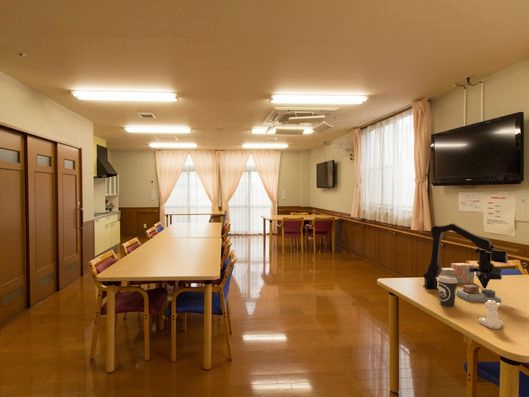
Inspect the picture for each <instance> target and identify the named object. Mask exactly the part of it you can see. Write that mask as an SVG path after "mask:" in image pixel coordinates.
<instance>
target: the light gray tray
mask: <svg viewBox="0 0 529 397" xmlns="http://www.w3.org/2000/svg"><path fill="white" fill-rule="evenodd" d="M486 289H487V291H488V292H490V290H491V289H489V288H486ZM455 296H457V297H459V298H461V299H463V300H465V301H466V302H487V301H488V300H494V301H496V302H502V298H500V297H497V296H496V295H495V297H489V296H486V295H485V294H483V293H482V291H481V292H480V291H479V294H467V293H465V292H463V289H456V294H455Z"/></svg>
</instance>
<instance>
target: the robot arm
mask: <svg viewBox="0 0 529 397" xmlns="http://www.w3.org/2000/svg"><path fill="white" fill-rule="evenodd" d="M430 231H431V232H430V233H431V237H432V248H431V258H430V260H431V261H430V263H429V265H428V268H427V269H426V272H425V273H424V274H423V275H422V276H423V278H424V279H423V280H424V284H423V285H422V286H423V287H424V288H426V289H428V290H431V289H432V290H439V287H438V280H437V279H438V277H439V274H440V273H441V272H442V270H441V269H442V268H443V265H441V264H440V255H441V254H440V253H441V247H442V246H441V245H442V240H443V238H444V234H445V232H450V231H451V232H453V233H455V234H458V235H459V236H461V237H463V238H465V239H467V240H469V241H471V242H472V243H473V244H474V245H475V246H477V248H476V250H474V252H475V253H478V261H476V264H477V265H478V266H474V267H470V268H469V272H472V273H473V272H474V273H475V272H476V274H475V276H476V277H477V279H478V281H479V282H480V285H481V287H482V289H487V287H488V285H489V282H490V281H491V280H496V281H498V280H502V279H503V278H502V277H503V276H502V275H501V274H502V270H503V269H502V268H499V267H496V266H495V264H494V263H499V264H500V263H501V264H508V261H509V260H508V259H509V256H508V251H507V250H499V249H498V250H497V249H496V247H494V245H493V242H492V241H491V239H489V238H487V237H484V236H480V235H477V234H474V233H473V232H471V231H469V230H466V228H463V227H461V226H459V225H457V224H456V223H450V224H446V225H441V224H440V225H434V226H433V227H431V230H430ZM492 261H493V262H494V263H492Z"/></svg>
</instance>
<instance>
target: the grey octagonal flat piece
mask: <svg viewBox="0 0 529 397" xmlns="http://www.w3.org/2000/svg"><path fill="white" fill-rule="evenodd" d="M487 289H488V288H482V289H481V293H483V294H485V295H486V296H489V297H495V296H496V290H493V289H490V292H488V291H487Z"/></svg>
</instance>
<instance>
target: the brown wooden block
mask: <svg viewBox="0 0 529 397" xmlns="http://www.w3.org/2000/svg"><path fill="white" fill-rule="evenodd" d="M462 290H463V292H465V293H467V294H479V292H480V287H479V286H477V285H476V284H463V288H462Z"/></svg>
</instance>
